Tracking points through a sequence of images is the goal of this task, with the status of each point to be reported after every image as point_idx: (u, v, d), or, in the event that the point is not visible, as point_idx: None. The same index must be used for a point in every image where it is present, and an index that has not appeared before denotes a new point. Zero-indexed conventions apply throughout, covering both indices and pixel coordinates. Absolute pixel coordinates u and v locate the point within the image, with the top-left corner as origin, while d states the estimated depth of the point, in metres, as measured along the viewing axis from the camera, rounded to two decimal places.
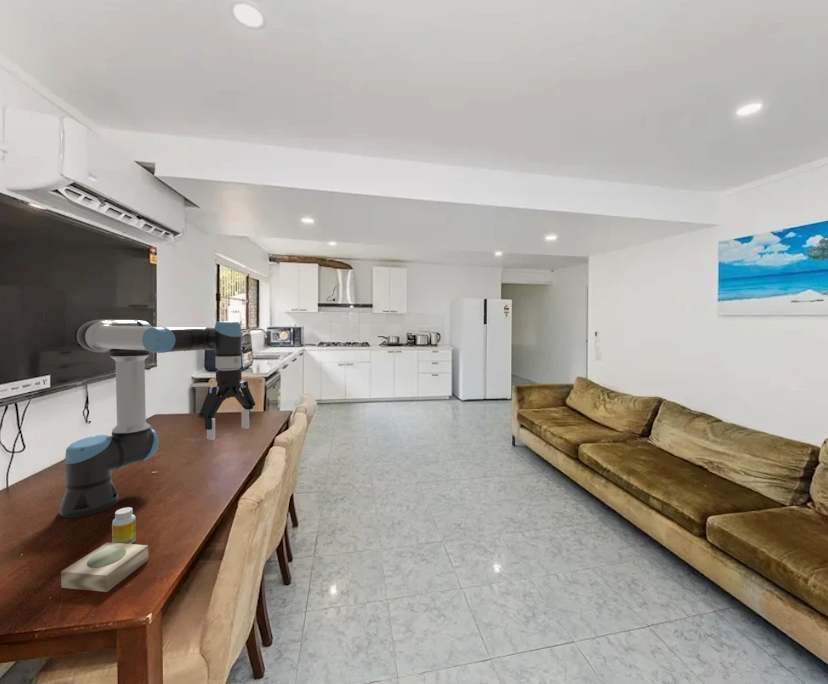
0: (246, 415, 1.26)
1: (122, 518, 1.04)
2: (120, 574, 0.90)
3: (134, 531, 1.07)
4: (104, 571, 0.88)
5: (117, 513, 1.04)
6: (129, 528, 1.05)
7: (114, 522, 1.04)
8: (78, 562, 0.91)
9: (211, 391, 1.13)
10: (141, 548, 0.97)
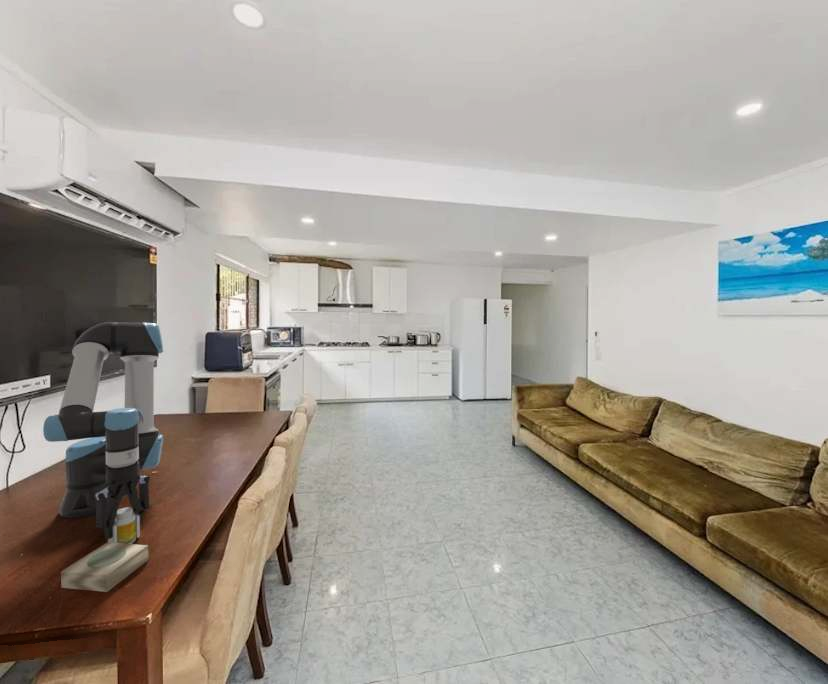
0: None
1: (122, 518, 1.04)
2: (120, 574, 0.90)
3: (134, 531, 1.07)
4: (104, 571, 0.88)
5: (117, 513, 1.04)
6: (129, 528, 1.05)
7: (114, 522, 1.04)
8: (78, 562, 0.91)
9: (98, 499, 0.99)
10: (141, 548, 0.97)
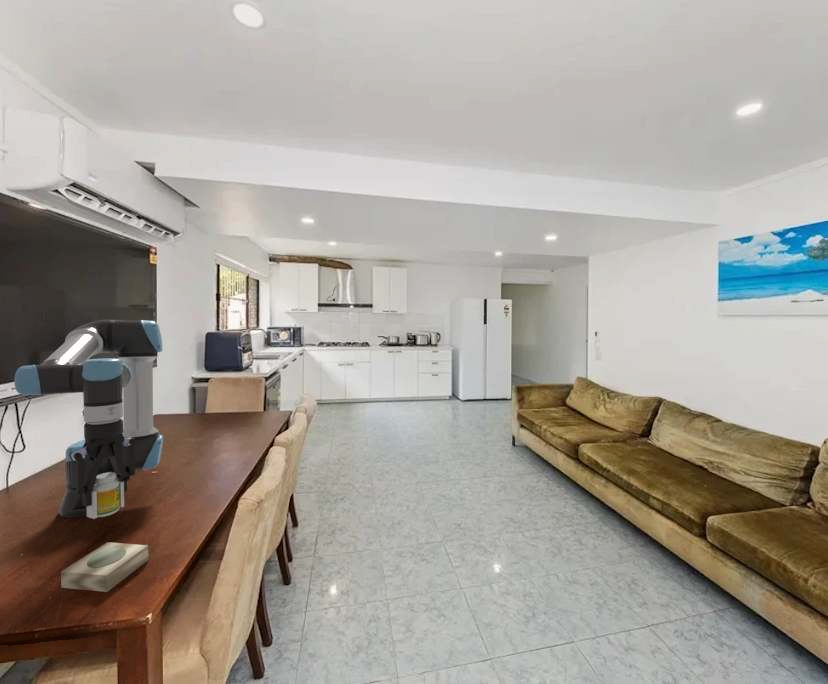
0: (119, 489, 0.95)
1: (103, 483, 0.91)
2: (120, 574, 0.90)
3: (117, 499, 0.93)
4: (104, 571, 0.88)
5: (97, 477, 0.91)
6: (111, 495, 0.91)
7: (94, 488, 0.90)
8: (78, 562, 0.91)
9: (74, 459, 0.86)
10: (141, 548, 0.97)
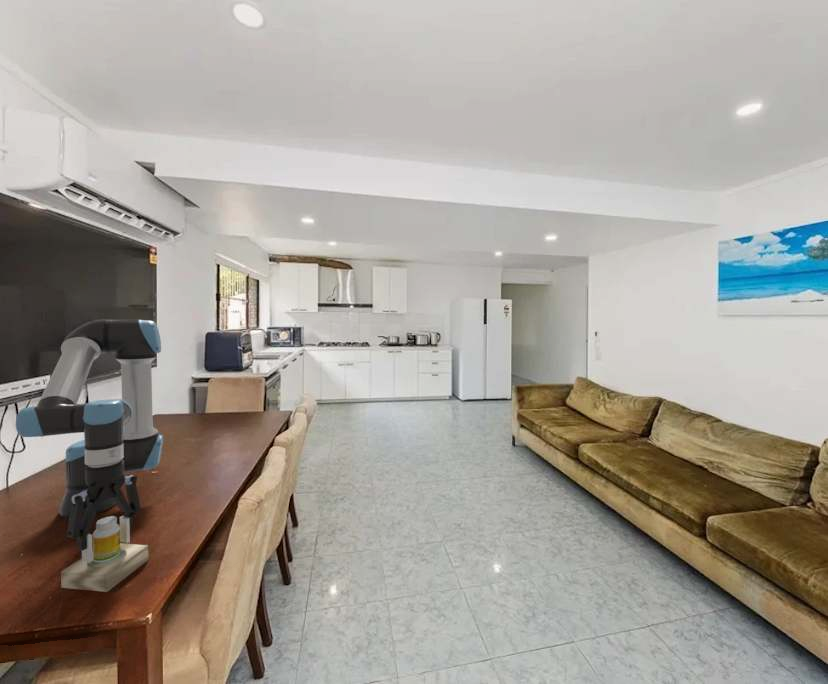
0: (125, 526, 0.96)
1: (104, 529, 0.91)
2: (120, 574, 0.90)
3: (118, 543, 0.94)
4: (104, 571, 0.88)
5: (98, 523, 0.91)
6: (112, 540, 0.92)
7: (95, 533, 0.91)
8: (78, 562, 0.91)
9: (74, 502, 0.86)
10: (141, 548, 0.97)
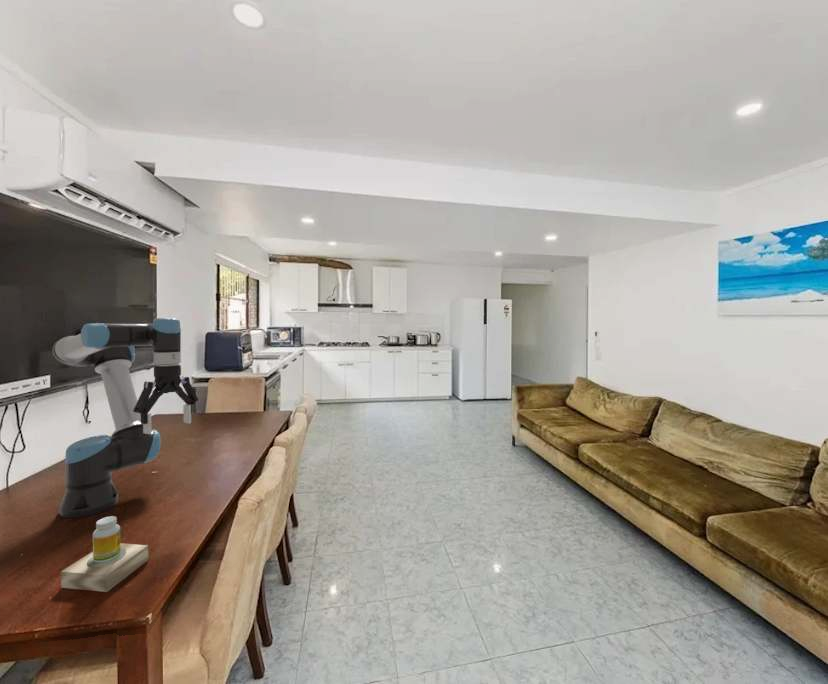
0: (188, 410, 1.28)
1: (104, 529, 0.91)
2: (120, 574, 0.90)
3: (118, 543, 0.94)
4: (104, 571, 0.88)
5: (98, 523, 0.91)
6: (112, 541, 0.92)
7: (95, 533, 0.91)
8: (78, 562, 0.91)
9: (147, 386, 1.15)
10: (141, 548, 0.97)
